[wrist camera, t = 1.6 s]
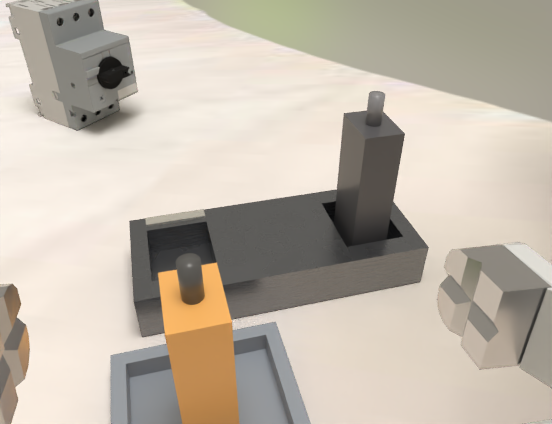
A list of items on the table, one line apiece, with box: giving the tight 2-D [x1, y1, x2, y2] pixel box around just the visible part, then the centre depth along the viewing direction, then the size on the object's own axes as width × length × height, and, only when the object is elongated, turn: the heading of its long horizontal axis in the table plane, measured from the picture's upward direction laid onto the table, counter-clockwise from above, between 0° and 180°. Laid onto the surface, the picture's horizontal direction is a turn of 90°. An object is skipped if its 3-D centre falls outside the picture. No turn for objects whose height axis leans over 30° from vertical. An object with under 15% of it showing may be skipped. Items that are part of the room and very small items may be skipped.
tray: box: [111, 322, 311, 424], centre depth 33 cm, size 12×12×2 cm
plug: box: [158, 253, 239, 424], centre depth 29 cm, size 3×4×14 cm
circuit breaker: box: [6, 0, 138, 130], centre depth 65 cm, size 8×14×15 cm, turn 57°
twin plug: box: [334, 91, 405, 247], centre depth 42 cm, size 3×4×14 cm
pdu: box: [129, 190, 429, 337], centre depth 45 cm, size 24×10×4 cm, turn 105°
